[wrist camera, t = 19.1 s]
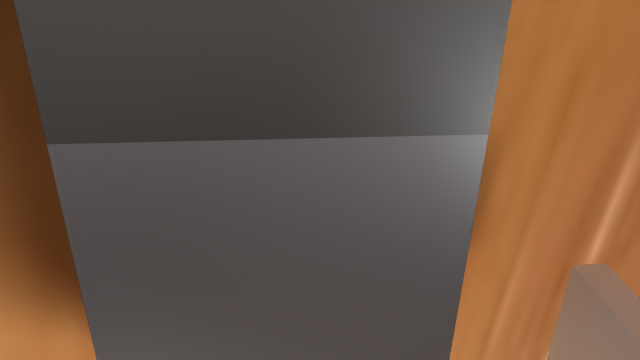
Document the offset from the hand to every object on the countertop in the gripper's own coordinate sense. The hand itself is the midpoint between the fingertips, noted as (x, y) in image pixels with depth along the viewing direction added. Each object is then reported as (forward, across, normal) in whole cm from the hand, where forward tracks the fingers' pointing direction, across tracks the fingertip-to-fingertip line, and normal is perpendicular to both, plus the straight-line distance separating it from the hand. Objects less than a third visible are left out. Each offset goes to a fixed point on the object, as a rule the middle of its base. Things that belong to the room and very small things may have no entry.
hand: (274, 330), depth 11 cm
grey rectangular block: (+3, 0, -4) cm, 5 cm away
